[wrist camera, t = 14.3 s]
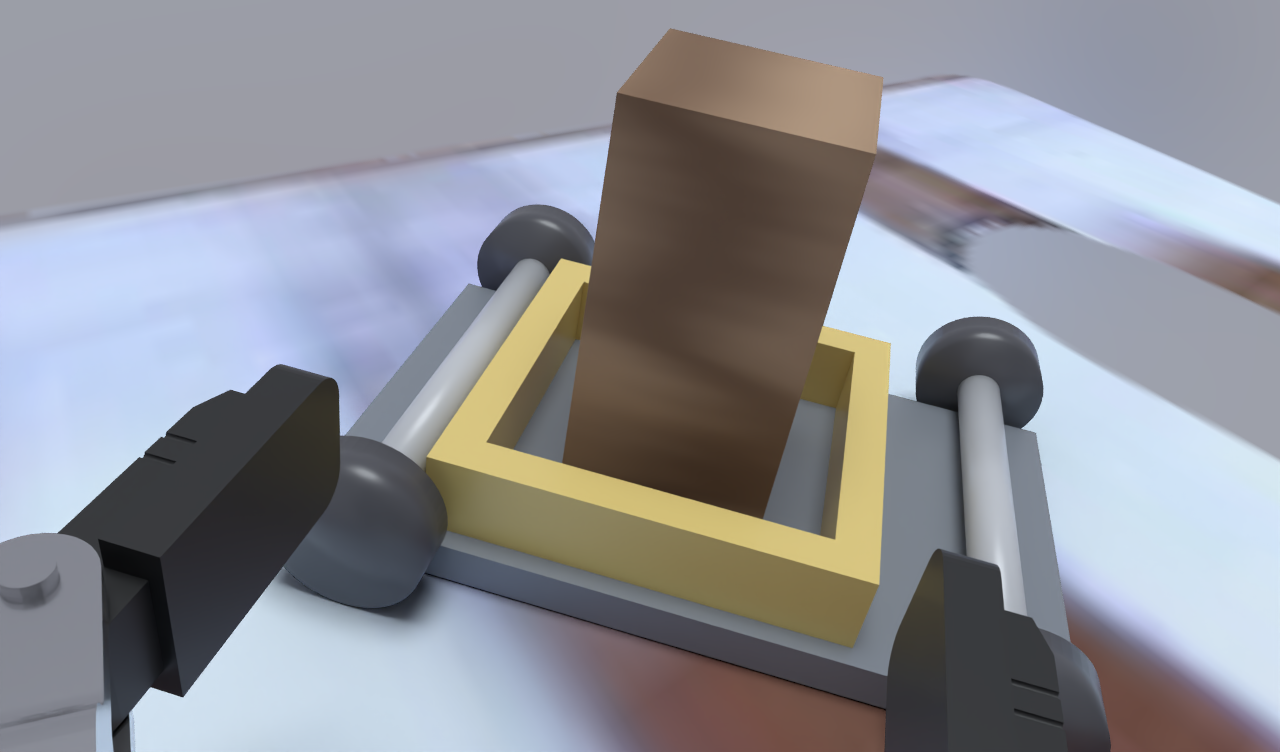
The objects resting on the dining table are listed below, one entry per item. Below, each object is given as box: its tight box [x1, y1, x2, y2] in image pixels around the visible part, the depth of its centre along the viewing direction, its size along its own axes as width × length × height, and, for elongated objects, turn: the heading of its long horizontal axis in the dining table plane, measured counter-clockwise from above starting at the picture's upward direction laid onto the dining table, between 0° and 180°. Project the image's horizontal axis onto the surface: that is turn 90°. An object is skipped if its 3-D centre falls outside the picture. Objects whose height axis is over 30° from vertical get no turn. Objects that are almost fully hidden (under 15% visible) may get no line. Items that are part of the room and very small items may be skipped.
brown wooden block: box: [562, 29, 883, 519], centre depth 24 cm, size 5×5×10 cm
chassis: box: [284, 205, 1111, 752], centre depth 26 cm, size 18×14×4 cm
